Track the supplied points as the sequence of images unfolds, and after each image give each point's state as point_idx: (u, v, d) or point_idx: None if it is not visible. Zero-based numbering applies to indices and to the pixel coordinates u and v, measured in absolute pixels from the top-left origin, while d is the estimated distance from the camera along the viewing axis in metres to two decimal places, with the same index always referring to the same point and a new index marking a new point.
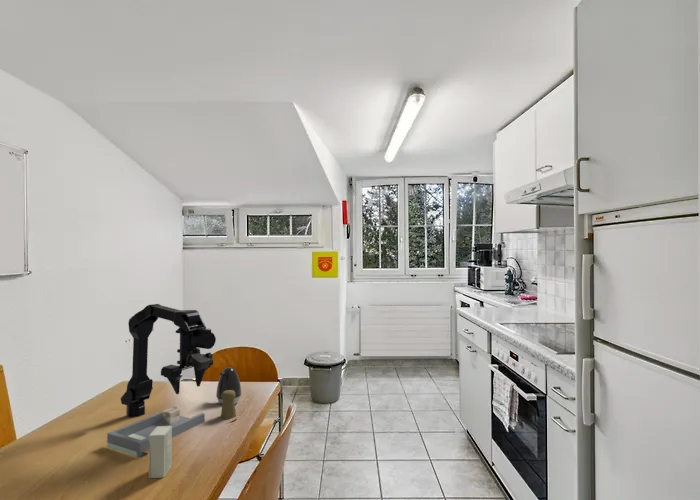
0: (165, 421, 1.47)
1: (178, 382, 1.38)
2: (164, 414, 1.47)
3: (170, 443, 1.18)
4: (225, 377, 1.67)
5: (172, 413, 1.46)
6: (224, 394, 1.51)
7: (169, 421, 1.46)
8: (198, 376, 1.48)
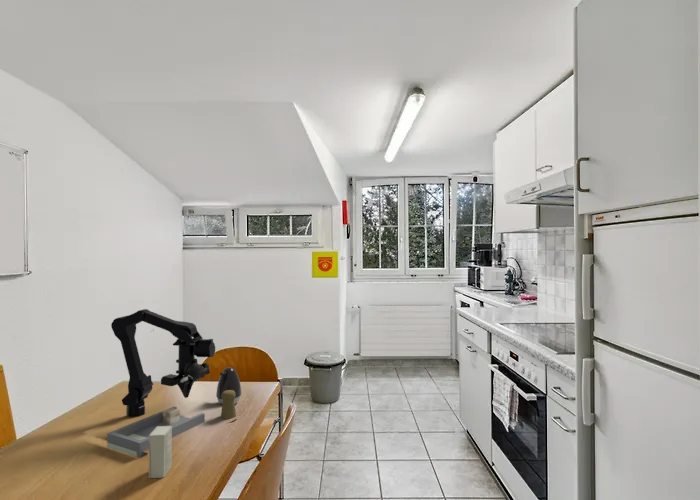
0: (165, 421, 1.47)
1: (186, 387, 1.53)
2: (164, 414, 1.47)
3: (170, 443, 1.18)
4: (225, 377, 1.67)
5: (172, 413, 1.46)
6: (224, 394, 1.51)
7: (169, 421, 1.46)
8: None
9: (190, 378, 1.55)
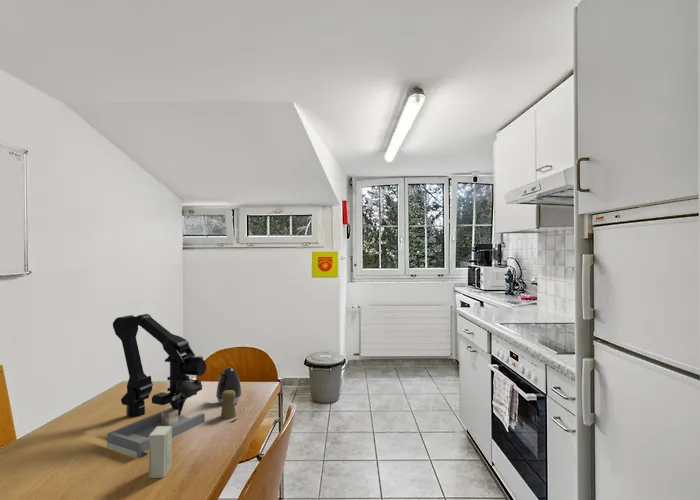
0: (164, 422, 1.46)
1: (178, 405, 1.50)
2: (163, 415, 1.46)
3: (170, 443, 1.18)
4: (225, 377, 1.67)
5: (171, 414, 1.46)
6: (224, 394, 1.51)
7: (168, 422, 1.45)
8: None
9: (182, 395, 1.52)
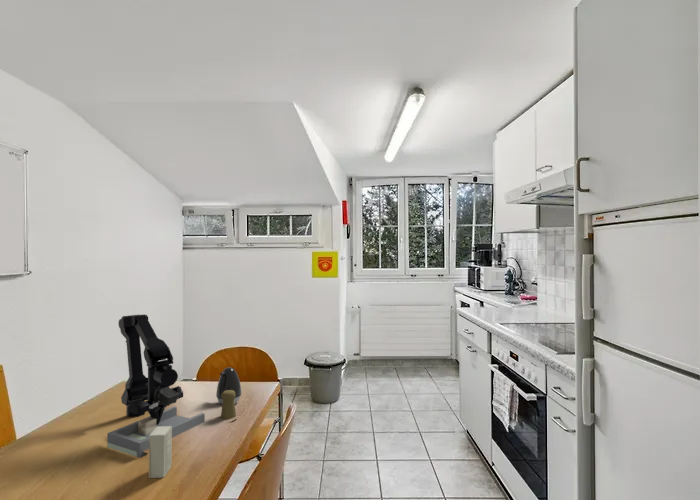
0: (141, 432, 1.38)
1: (157, 413, 1.41)
2: (140, 424, 1.38)
3: (170, 443, 1.18)
4: (225, 377, 1.67)
5: (148, 423, 1.38)
6: (224, 394, 1.51)
7: (145, 432, 1.37)
8: None
9: (161, 403, 1.43)
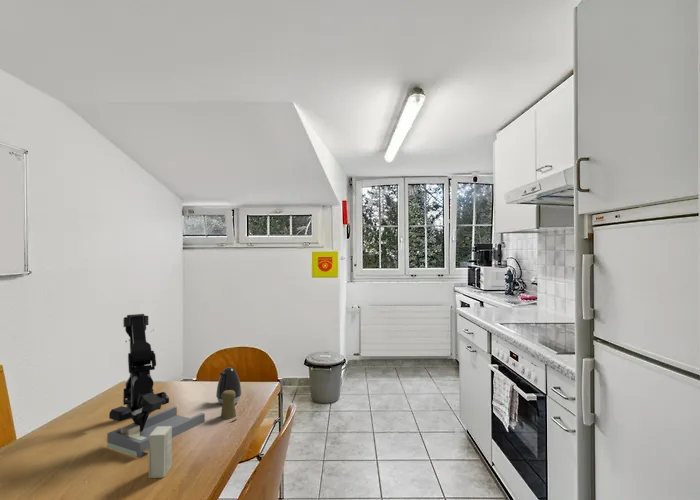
0: None
1: (140, 420, 1.36)
2: (122, 431, 1.33)
3: (170, 443, 1.18)
4: (225, 377, 1.67)
5: (131, 430, 1.32)
6: (224, 394, 1.51)
7: None
8: None
9: (145, 409, 1.38)
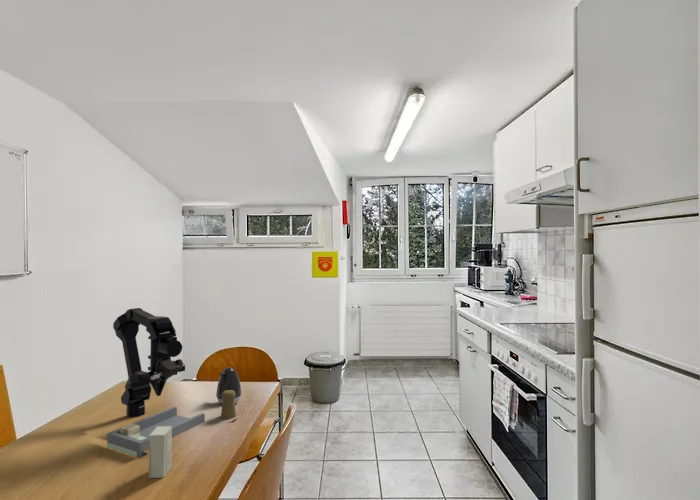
0: None
1: (158, 385, 1.44)
2: (122, 431, 1.33)
3: (170, 443, 1.18)
4: (225, 377, 1.67)
5: (131, 430, 1.32)
6: (224, 394, 1.51)
7: None
8: None
9: (163, 375, 1.46)
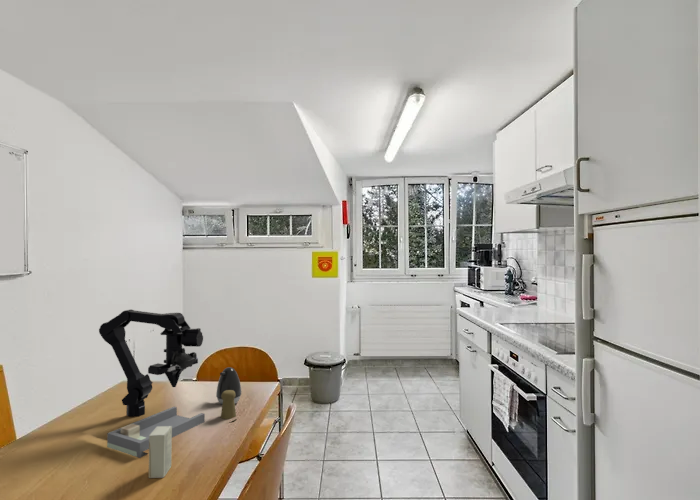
0: None
1: (174, 376, 1.53)
2: (122, 431, 1.33)
3: (170, 443, 1.18)
4: (225, 377, 1.67)
5: (131, 430, 1.32)
6: (224, 394, 1.51)
7: None
8: None
9: (178, 367, 1.55)
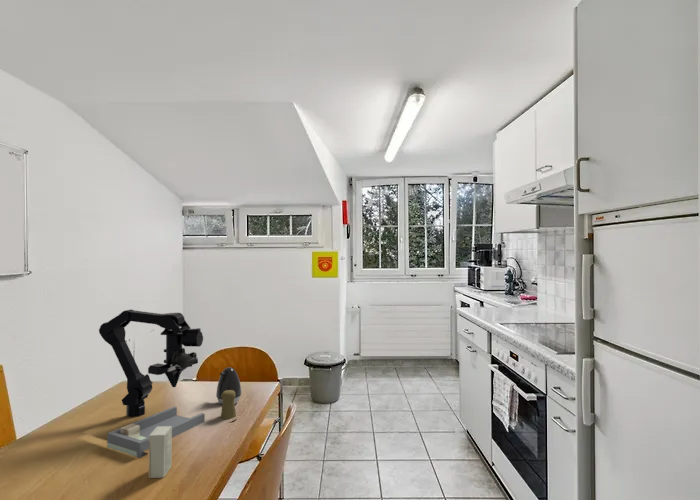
0: None
1: (174, 376, 1.53)
2: (122, 431, 1.33)
3: (170, 443, 1.18)
4: (225, 377, 1.67)
5: (131, 430, 1.32)
6: (224, 394, 1.51)
7: None
8: None
9: (178, 367, 1.55)
